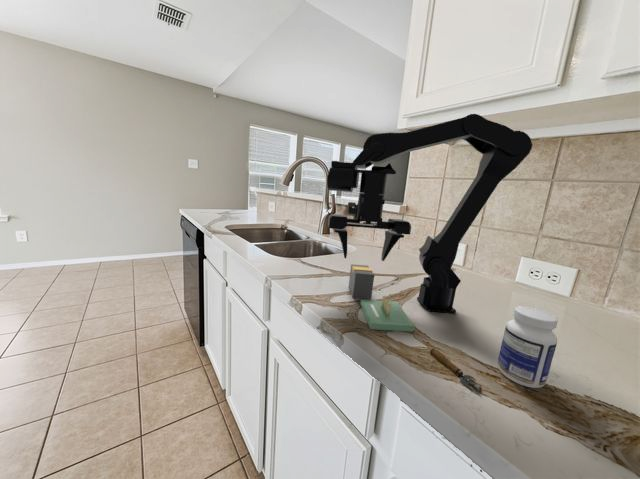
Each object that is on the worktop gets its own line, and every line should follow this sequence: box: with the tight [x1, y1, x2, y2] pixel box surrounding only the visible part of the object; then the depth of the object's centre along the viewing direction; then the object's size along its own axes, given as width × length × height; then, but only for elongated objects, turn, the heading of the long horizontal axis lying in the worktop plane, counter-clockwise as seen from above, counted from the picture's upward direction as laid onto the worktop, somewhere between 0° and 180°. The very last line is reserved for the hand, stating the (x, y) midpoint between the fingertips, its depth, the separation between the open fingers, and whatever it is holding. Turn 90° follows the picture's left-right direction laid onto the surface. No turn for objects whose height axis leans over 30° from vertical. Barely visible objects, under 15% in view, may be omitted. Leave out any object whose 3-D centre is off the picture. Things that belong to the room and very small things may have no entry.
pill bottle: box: [496, 305, 559, 389], centre depth 36 cm, size 6×6×10 cm
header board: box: [360, 295, 415, 333], centre depth 51 cm, size 10×8×4 cm
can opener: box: [429, 347, 483, 397], centre depth 37 cm, size 9×2×1 cm, turn 15°
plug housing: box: [348, 264, 375, 300], centre depth 62 cm, size 7×4×6 cm, turn 2°
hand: (363, 259), depth 61 cm, fingers open, 9 cm apart
